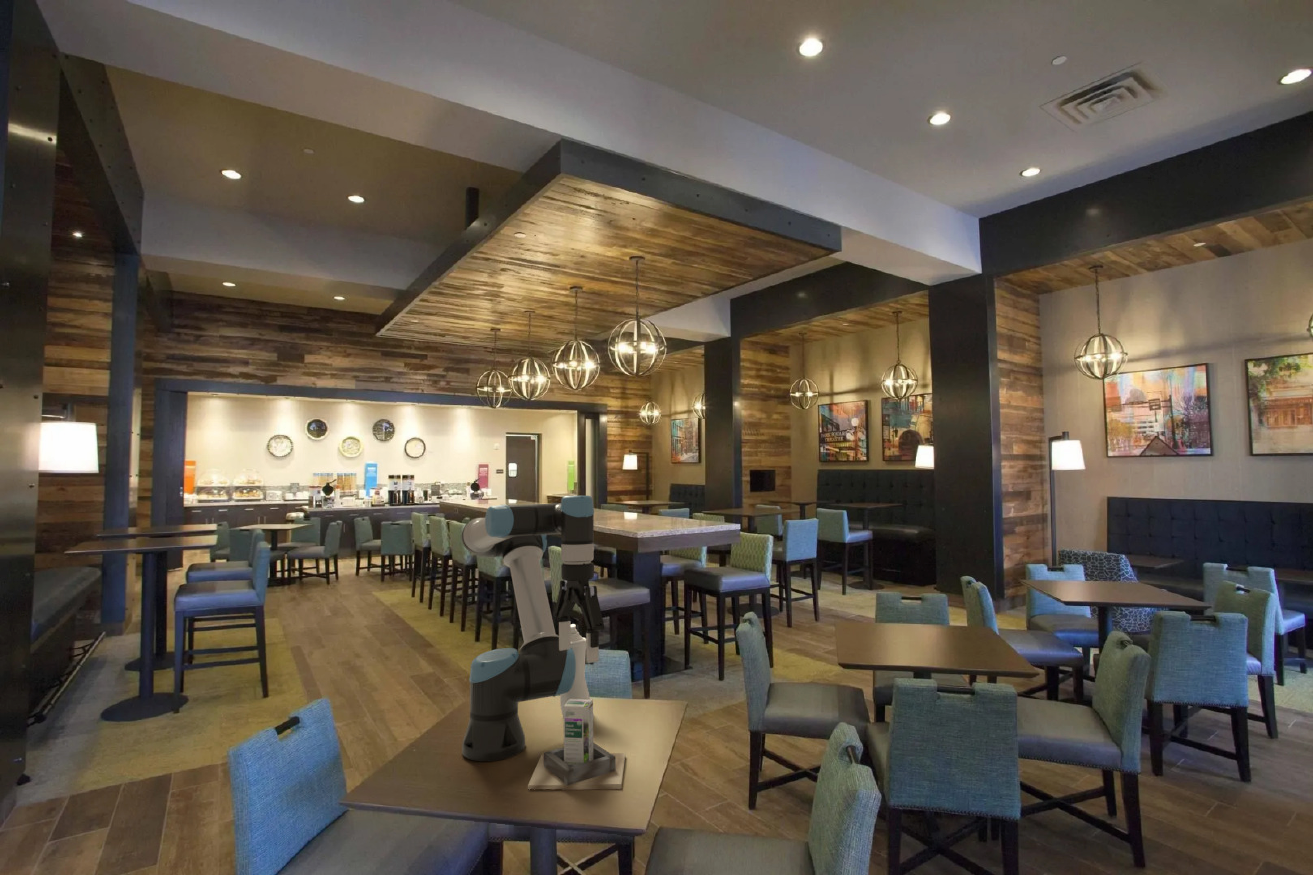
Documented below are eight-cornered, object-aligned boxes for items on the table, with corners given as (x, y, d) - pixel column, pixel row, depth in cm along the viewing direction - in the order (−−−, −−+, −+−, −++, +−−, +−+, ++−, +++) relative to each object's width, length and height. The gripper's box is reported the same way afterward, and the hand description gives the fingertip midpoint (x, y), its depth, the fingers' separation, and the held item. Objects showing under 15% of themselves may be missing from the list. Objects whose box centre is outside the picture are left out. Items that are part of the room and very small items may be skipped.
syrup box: (563, 772, 142) (562, 705, 143) (570, 761, 148) (569, 697, 149) (588, 773, 141) (587, 706, 142) (594, 762, 147) (593, 697, 148)
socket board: (527, 790, 136) (527, 771, 136) (542, 757, 152) (541, 740, 153) (621, 789, 136) (620, 770, 136) (625, 756, 152) (625, 739, 153)
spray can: (549, 721, 176) (549, 629, 179) (560, 708, 187) (559, 621, 189) (590, 722, 175) (589, 629, 177) (598, 709, 185) (598, 622, 187)
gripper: (619, 565, 140) (620, 664, 138) (567, 556, 160) (568, 642, 159) (589, 568, 136) (590, 670, 134) (540, 558, 156) (540, 647, 154)
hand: (578, 655), depth 146 cm, fingers open, 13 cm apart
